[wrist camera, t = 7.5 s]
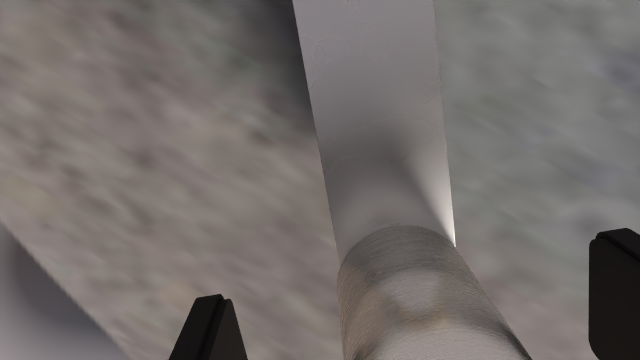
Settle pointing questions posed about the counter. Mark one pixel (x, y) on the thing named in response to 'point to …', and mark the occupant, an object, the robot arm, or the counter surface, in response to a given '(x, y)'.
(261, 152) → the counter surface
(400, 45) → the shaft
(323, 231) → the counter surface
